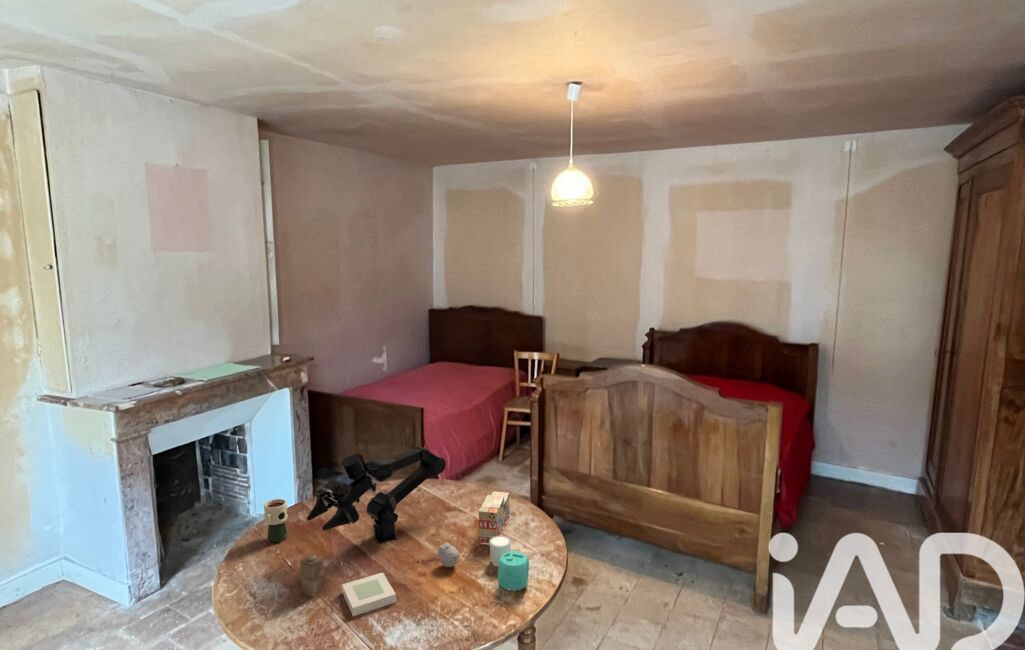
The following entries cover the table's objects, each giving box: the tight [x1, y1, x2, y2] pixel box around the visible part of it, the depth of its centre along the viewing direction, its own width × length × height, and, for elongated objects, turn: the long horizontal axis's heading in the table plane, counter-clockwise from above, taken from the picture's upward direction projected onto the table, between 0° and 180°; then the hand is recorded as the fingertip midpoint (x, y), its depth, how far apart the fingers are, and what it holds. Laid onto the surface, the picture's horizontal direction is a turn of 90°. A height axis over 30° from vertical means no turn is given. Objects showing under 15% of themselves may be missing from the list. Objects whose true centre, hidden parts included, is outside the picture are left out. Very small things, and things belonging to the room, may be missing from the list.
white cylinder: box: [488, 535, 512, 565], centre depth 175 cm, size 7×7×7 cm
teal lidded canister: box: [497, 550, 530, 591], centre depth 164 cm, size 8×8×8 cm
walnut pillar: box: [299, 553, 326, 598], centre depth 160 cm, size 4×4×10 cm
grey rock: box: [437, 542, 460, 568], centre depth 173 cm, size 6×7×7 cm
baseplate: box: [341, 572, 397, 617], centre depth 158 cm, size 12×12×3 cm
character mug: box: [263, 498, 289, 543], centre depth 188 cm, size 11×7×13 cm, turn 175°
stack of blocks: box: [478, 491, 511, 544], centre depth 195 cm, size 21×6×12 cm, turn 169°
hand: (315, 524), depth 170 cm, fingers open, 9 cm apart
